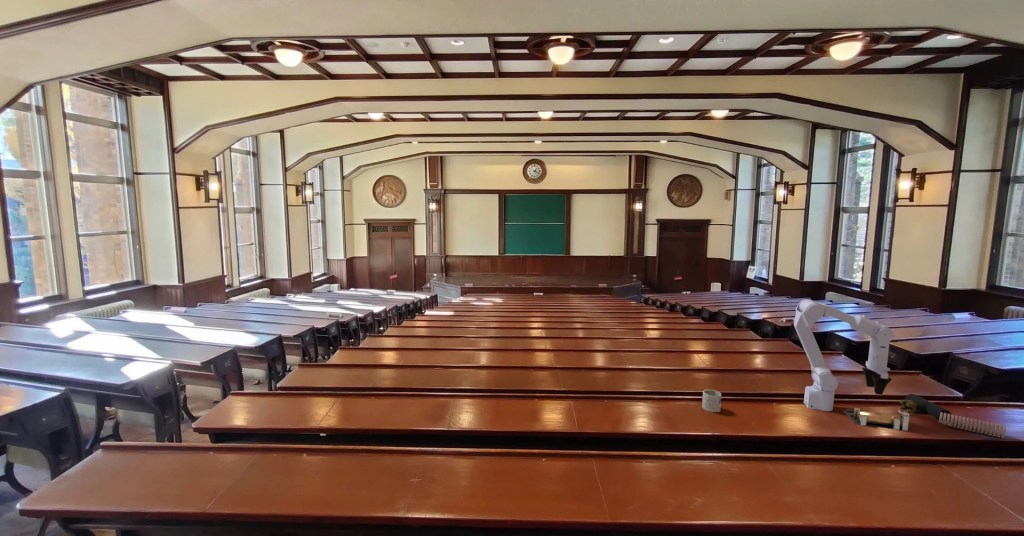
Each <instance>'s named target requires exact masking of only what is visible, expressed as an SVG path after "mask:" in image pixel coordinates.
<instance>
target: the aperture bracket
mask: <svg viewBox="0 0 1024 536" xmlns="http://www.w3.org/2000/svg"><path fill="white" fill-rule="evenodd" d="M897 412H898V413H899V414H901V416H903V417H902V425H901V430H900V431H903V430H904V432H908V431H909V430H908V429H909V421H910V413H908V412H906V411H905V410H902V409H898V411H897ZM907 430H908V431H907Z"/></svg>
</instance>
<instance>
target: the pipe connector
mask: <svg viewBox="0 0 1024 536" xmlns="http://www.w3.org/2000/svg"><path fill="white" fill-rule="evenodd" d="M899 404H901V406H899V410H904V411H905V412H906V413H909V414H910V413H911V414H914V413H915V414H916V413H919V414H920V413H921V414H922V413H923V414H927V415H930V416H931V417H933V418H935V419H936V420H937V421H939V418H940V413H941V412H942V413H943V417H944V413H946V414H947V416H948V414H950V419H951V415H952V412H951V411H950V410H949V409H946V408H943V407H942V406H940V405H937V404H936V403H933V402H932V401H929V400H927V399H925V398H923V397H921V396H919V395H916V394H915V393H908V394H907V395H906V396H905V398H904V399H900V400H899Z"/></svg>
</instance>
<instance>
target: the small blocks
mask: <svg viewBox="0 0 1024 536" xmlns="http://www.w3.org/2000/svg"><path fill="white" fill-rule="evenodd" d="M853 410H854V416H853V417H854V418H857V412H858V411H861V409H860V408H859V407H858V408H857V407H854V409H853ZM885 414H892V415H893V413H892V412H891V411H886V412H885ZM866 419H867V416H866V415H861V417H860V425H859V426H866ZM899 426H900V420H899V419H894V421H893V429H892V430H897V431H900V430H899ZM866 427H867V426H866Z"/></svg>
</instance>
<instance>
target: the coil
mask: <svg viewBox="0 0 1024 536" xmlns="http://www.w3.org/2000/svg"><path fill="white" fill-rule="evenodd" d="M938 423H939V424H942V425H944V426H946V427H949V428H955V429H957V428H958V429H960V430H964V431H968V432H972V433H976V434H978V433H979V434H980V433H981V435H984V434H986V435H987V434H988V435H987V436H989V435H990V436H991V434H992V436H991V437H993V436H994V437H995V435H996V436H997V437H996V438H1000V437H1001V438H1000V439H1004V438H1003V437H1006V430H1007V428H1006V425H1002V424H997V423H993V422H989V421H985V420H980V419H973V418H969V417H966V416H961V415H954V414H951V418H950V414H948V416H947V414H946V413H944V417H943V413H942V412H941V413H940V418H939V420H938ZM983 433H984V434H983ZM999 436H1000V437H999ZM1006 438H1007V437H1006Z"/></svg>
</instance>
